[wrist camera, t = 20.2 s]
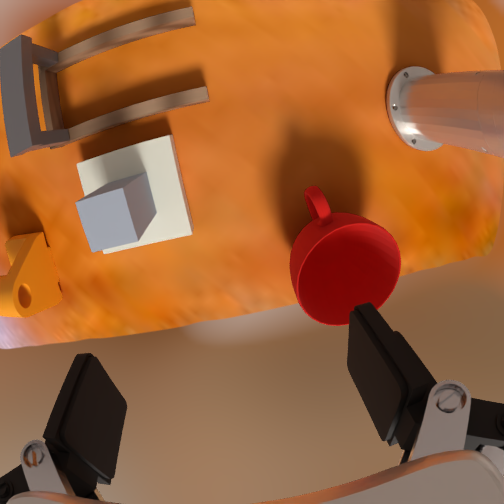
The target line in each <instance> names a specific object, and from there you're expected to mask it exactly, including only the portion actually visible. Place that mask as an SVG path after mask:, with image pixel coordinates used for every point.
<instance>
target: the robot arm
mask: <svg viewBox="0 0 504 504" xmlns="http://www.w3.org/2000/svg"><path fill="white" fill-rule="evenodd" d="M386 103H387V111H388V115H389V119H390V122H391V124H392V126H393V128H394V130H395V132H396V133H397V135H398V136H399V137H400V138H401V140H403V141H404V142H405V143H406V144H407V145H409V146H411V147H412V148H415V149H418V150H423V151H432V150H435V149H437V148H439V147H441V146H442V145H443V144H448V145H453V146H457V147H462V148H466V149H471V150H475V151H479V152H483V153H487V154H491V155H495V156H498V157H502V158H504V70H490V71H467V72H453V73H442V74H434V73H433V72H432V71H430V70H428V69H426V68H423V67H419V66H412V67H407V68H404V69H402V70H400V71H399V72H397V73H396V74H395V75H394V77H393V78H392V80H391V82H390V84H389V86H388V90H387V99H386ZM392 107H393V108H392ZM347 366H348V370H349V372H350V375H351V377H352V379H353V381H354V383H355V385H356V387H357V389H358V391H359V393H360V395H361V397H362V400H363V401H364V404H365V406H366V408H367V410H368V412H369V414H370V416H371V418H372V421H373V423H374V425H375V427H376V429H377V431H378V434H379V436H380V438H381V439H382V441H386V440H387V442H388V444H389V446H392V445H394V444H397V443H399V445H400V447H401V449H403V453H402V455H401V458H400V461H399V463H398V466H395V467H393V468H390V469H387V470H384V471H381V472H379V473H376V474H373V475H370V476H367V477H365V478H361V479H358V480H355V481H352V482H349V483H346V484H342V485H339V486H335V487H331V488H328V489H324V490H321V491H316V492H312V493H308V494H304V495H299V496H295V497H290V498H284V499H279V500H273V501H267V502H260V503H252V504H504V477H503V476H504V404H502V403H496V402H490V401H485V400H480V399H475V398H471V395H470V392H469V390H468V389H467V388H466V387H465V385H463V384H462V383H460V382H458V381H454V380H445V381H441V382H439V383H437V382H436V381H435V379H434V378H433V376H432V375H431V374H430V372H429V371H428V369H427V368H426V367H425V365H424V364H423V363H422V361H421V360H420V358H419V357H418V356H417V354H416V353H415V352H414V350H413V349H412V348H411V346H410V345H409V344H408V342H407V341H406V340H405V339H404V337H403V336H402V335H401V334H400V333H399V332H398V331H394V332H393V330H392V329H391V328H390V327H389V325H388V324H387V323H386V321H385V320H384V319H383V317H382V316H381V315H380V313H379V312H378V311H377V309H376V308H375V307H374V306H373V304H372V303H371V302H367V303H364V304H360V305H356V306H354V310H353V311H350V314H349V339H348V357H347ZM126 410H127V404H126V401H125V399H124V398H123V396H122V395H121V393H120V392H119V391H118V389H117V388H116V386H115V385H114V383H113V382H112V380H111V379H110V378H109V376H108V374H107V373H106V371H105V370H104V368H103V366H102V365H101V363H100V362H99V360H98V359H97V357H94V356H93V355H92V354H91V353H85V354H77V355H76V357H75V359H74V361H73V363H72V365H71V367H70V370H69V372H68V374H67V376H66V379H65V381H64V383H63V386H62V388H61V390H60V393H59V395H58V398H57V400H56V402H55V405H54V408H53V410H52V413H51V415H50V418H49V420H48V423H47V426H46V429H45V431H44V434H43V438H44V439H46V441H45V443H44V442H42V441H40V440H32V441H30V442H28V443H27V444H26V445H25V446H24V448H23V449H22V452H21V456H20V459H21V465H19V466H18V467H16V468H15V469H13V470H12V471H10V472H9V473H7V474H5V475H4V476H2V477H1V478H0V504H119V503H112V502H105V500H104V499H103V497H102V495H101V494H100V492H99V491H98V489H97V487H96V485H97V482H98V483H100V484H107V485H110V484H111V479H112V478H114V475H115V469H116V463H117V457H118V452H119V446H120V441H121V435H122V430H123V425H124V420H125V415H126Z"/></svg>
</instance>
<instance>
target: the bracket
mask: <svg viewBox="0 0 504 504" xmlns="http://www.w3.org/2000/svg"><path fill="white" fill-rule="evenodd" d="M5 247H6V251H7V254H8V257H9V261H10V264H11V268H10V270H9V272H8V274H7V275H5V276H0V316H6V317H30V316H32V315H34V314H36V313H39V312H41V311H43V310H45V309H48V308H50V307H52V306H55V305H57V304H58V303H59V302H60V301H61V299H62V298H63V297H62V294H61V291H60V288H59V285H58V282H59V281H60V280H59V276H58V273H57V270H56V267H55V263H54V260H53V256H52V253H51V249H50V247H47V245H46V241H45V237H44V233H43V232H38V233H31V234H24V235H17V236H13V237H12V238H10V239H9V240H8V241H6V243H5Z"/></svg>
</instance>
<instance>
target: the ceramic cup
mask: <svg viewBox="0 0 504 504" xmlns="http://www.w3.org/2000/svg"><path fill="white" fill-rule="evenodd" d="M304 196H305V200H306V203H307V206H308V209H309V212H310V215H311V217H312V220H313V221H311V222H309V223H308V224H307V225H306V226H305V227H304V228H303V229H302V231H301V232H300V233H299V234H298V236H297V238H296V240H295V242H294V244H293V247H292V251H291V255H290V274H291V281H292V285H293V288H294V291H295V294H296V297H297V300H298V302H299V304H300V306H301V307H302V308H303V310H304V312H305V313H306V314H308V316H310V317H311V318H312V319H314V320H316V321H318V322H319V323H323V324H326V325H336V326H340V325H347V324H349V314H350V311H353V310H354V306H356V305H360V304H364V303H367V302H371V303H372V304H373V306H374V307H375V308H376V309H379V308H380V307H381V306H382V305H383V304H384V302H385V301H386V300H387V299H388V298H389V296H390V295H391V293H392V292H393V290H394V288H395V286H396V283H397V281H398V278H399V274H400V268H401V257H400V251H399V248H398V245H397V243H396V241H395V240H394V238H393V237H392V235H391V234H390V233H389V232H387V231H386V230H385V229H384V228H383V227H381V226H379V225H377V224H376V223H374V222H372V221H370V220H368V219H366V218H364V217H361V216H358V215H355V214H350V213H337V212H336V213H331V210H330V207H329V205H328V202H327V200H326V198H325V196H324V194H323V193H322V191H321V190H320V189H319V188H318V187H317V186H311V187H308V188H307V189H306V190H305V192H304Z"/></svg>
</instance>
